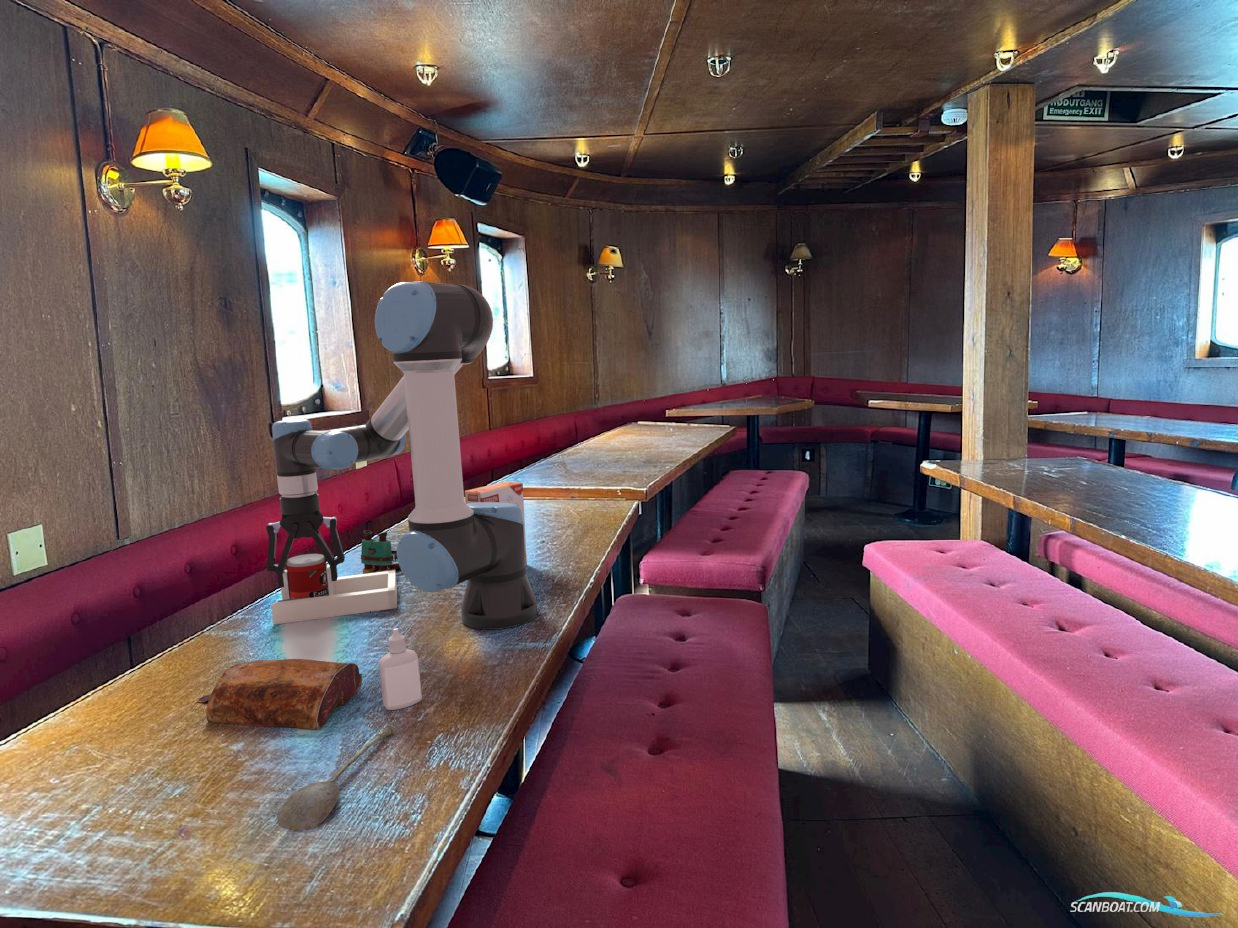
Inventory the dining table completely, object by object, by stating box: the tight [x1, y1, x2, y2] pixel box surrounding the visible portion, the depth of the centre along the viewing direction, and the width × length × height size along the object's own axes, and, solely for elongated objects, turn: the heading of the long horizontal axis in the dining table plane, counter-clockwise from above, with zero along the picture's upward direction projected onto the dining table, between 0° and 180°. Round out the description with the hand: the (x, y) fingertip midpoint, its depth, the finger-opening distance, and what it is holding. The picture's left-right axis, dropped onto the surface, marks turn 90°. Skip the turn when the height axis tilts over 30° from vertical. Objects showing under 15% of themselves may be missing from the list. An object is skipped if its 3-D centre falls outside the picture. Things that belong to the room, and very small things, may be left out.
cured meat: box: [197, 658, 363, 731], centre depth 117 cm, size 18×25×7 cm
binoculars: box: [360, 530, 401, 574], centre depth 184 cm, size 9×11×10 cm
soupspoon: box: [277, 724, 397, 831], centre depth 95 cm, size 22×3×7 cm
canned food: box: [285, 553, 329, 599], centre depth 158 cm, size 8×8×11 cm
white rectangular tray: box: [270, 569, 398, 626], centre depth 160 cm, size 15×24×4 cm, turn 106°
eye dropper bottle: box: [378, 627, 423, 711], centre depth 113 cm, size 4×6×12 cm
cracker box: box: [464, 481, 528, 566], centre depth 178 cm, size 14×6×21 cm, turn 143°
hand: (310, 598), depth 159 cm, fingers open, 8 cm apart
